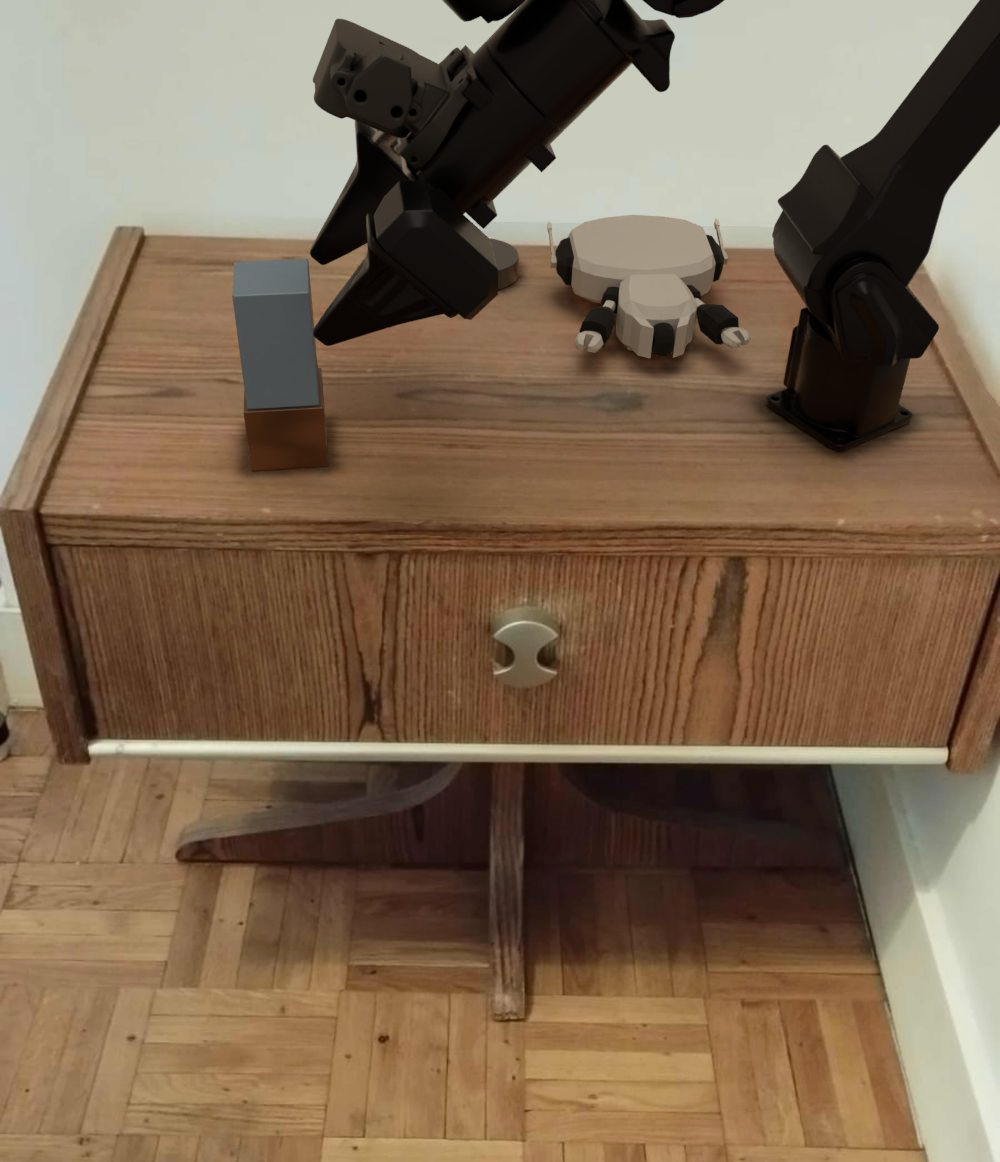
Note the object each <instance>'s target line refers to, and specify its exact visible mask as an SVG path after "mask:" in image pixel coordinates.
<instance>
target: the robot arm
mask: <svg viewBox="0 0 1000 1162" xmlns="http://www.w3.org/2000/svg"><path fill="white" fill-rule="evenodd" d="M441 1H442V2H443V3H444V4H445V5H446V6H447V7H448V8H449V9H450V11H452V13H454V14H455V15H456V16H457V18H458V19H460V20H461V21H462V22H472V21H474V20H476V19H478V18H480V17H481V19H483V20H484V22H485V23H486V24H491V23H492V22H499V21H501V20H504V19H506V20H505V21H504V22H503V23H502V24H501V25H500V26H499V27H498V28H497V29H496V30H495V31H494V33H492V34H491V36H489V37H488V39H487V40H486V41H484V42H483V44H482V45H481V46H480V47H479V48H478V49H477V50H476V51H475V52H473V51H472V50H471V49H470V48H469V47H468V46H467V45H466V44H465V45H464V46H463V47H462V48H461V49H460V48H459V47H455V48H454V49H452V50H451V51H450V52H449V53H448V54H447V56H445V58H443V59H442V60H441V61H440V62H439V63H437V62H435V61H433V60H431V59H429V58H428V57H425V56H424V55H422V54H420V53H418V52H417V51H415V50H413V49H412V48H409V47H408V46H405V45H404V44H401V43H399V42H397V41H394V40H393V39H390V38H388V37H386V36H384V35H382V34H379V33H378V32H375V31H373V30H371V29H369V28H366V27H364V26H361V25H359V24H357V23H355V22H353V21H350V20H348V19H345V18H336V19H335V20H334V23H333V25H332V28H331V30H330V33H329V35H328V38H327V41H326V43H325V46H324V48H323V51H322V54H321V57H320V59H319V61H318V63H317V66H316V69H315V71H314V74H313V77H312V83H313V84H314V94H313V101H314V103H315V104H316V105H317V107H319V108H320V110H322V111H325V112H326V113H327V114H329V115H331V116H334V117H336V118H339V119H345V118H349V119H351V120H353V121H354V133H355V147H356V149H355V150H356V162H355V165H354V167H353V169H352V171H351V173H350V175H349V177H348V179H347V181H346V183H345V185H344V187H343V188H342V190H341V192H340V194H339V196H338V198H337V199H336V201H335V203H334V205H333V207H332V209H331V211H330V212H329V214H328V216H327V218H326V220H325V221H324V223H323V225H322V227H321V229H320V231H319V233H318V234H317V236H316V238H315V239H314V241H313V243H312V245H311V247H310V248H309V256H310V257H311V258H312V259H313V260H314V261H316V262H317V263H318V264H319V265H321V266H325V265H328V264H330V263H332V262H334V261H336V260H338V259H341V258H342V257H344V256H346V255H348V254H351V253H352V252H354V251H355V250H358V249H359V248H361V247H363V246H365V245H367V251H366V255H365V256H364V258H363V260H362V261H361V262H360V263H359V265H358V267H357V268H356V269H355V271H353V273H352V274H351V276H350V277H349V278H348V280H347V281H346V282H345V284H344V285H343V286H342V288H341V289H340V291H339V292H338V294H336V296H335V298H334V299H333V300H332V302H331V303H330V304H329V306H328V307H327V308H326V309H325V311H324V313H323V314H322V316H321V317H320V318H319V320H318V321H317V322H316V324H315V325H314V329H313V335H314V337H315V340H317V341H318V342H320V343H321V344H322V345H324V346H327V347H330V346H335V345H337V344H340V343H341V344H342V343H344V342H346V341H350V340H353V339H357V338H359V337H363V336H366V335H369V334H373V333H376V332H378V331H379V332H380V331H383V330H386V329H390V328H392V327H396V326H399V325H403V324H407V323H411V322H412V323H413V322H415V321H419V320H420V321H421V320H424V319H428V318H429V319H430V318H433V317H437V316H441V315H444V316H446V317H447V318H450V319H453V318H455V317H457V316H458V315H459V316H461V318H463V319H464V320H469V321H472V320H473V319H474V318H475V317H476V316H477V315H478V314H479V313H480V312H481V311H482V310H483V309H484V308H485V307H487V306H488V304H490V303H491V302H492V301H493V300H494V299H495V298H496V297H497V296H498V295H499V290H498V266H497V263H496V259H495V256H494V252H493V249H492V245H491V242H490V239H491V238H490V237H488V236H487V235H486V233H484V232H483V231H482V230H481V229H479V228H478V226H479V227H481V228H482V229H483V230H484V229H485V228H486V227H487V226H489V225H490V224H491V223H492V221H493V220H494V219H495V218H497V216H498V213H497V210H496V207H495V202H494V201H495V199H496V198H497V197H498V196H499V195H500V194H501V193H503V191H504V190H505V189H506V188H507V187H508V186H509V185H510V184H511V183H512V182H513V181H514V180H515V179H516V178H518V177H519V175H521V173H522V172H524V171H525V170H526V169H527V168H528V167H529V166H530V165H531V164H532V165H533V166H534V167H536V168H537V170H538V171H540V173H543V172H544V171H545V170H546V169H547V168H548V167H549V166H550V165H551V164H552V163H553V162H554V161H555V160H556V159H557V156H556V154H555V151H554V149H553V147H552V143H553V142H554V141H555V140H556V139H557V138H558V137H559V136H560V135H561V134H562V133H563V132H565V130H567V128H569V126H570V125H572V123H573V122H574V121H576V119H578V118H579V117H580V116H581V115H582V114H583V113H584V112H585V111H586V110H587V109H588V108H589V107H590V106H591V105H592V104H593V103H594V102H595V101H596V100H597V99H598V98H599V97H600V96H601V95H603V93H604V92H605V91H606V90H607V89H608V88H610V86H611V85H612V84H613V83H614V82H615V81H616V80H617V79H618V78H619V77H621V76H622V74H623V73H625V71H627V70H628V68H630V67H631V66H632V65H633V66H634V67H635V68H636V70H637V71H638V72H639V73H640V75H642V76H643V77H644V78H645V80H646V81H647V82H648V83H649V84H650V85H651V86H652V88H653V89H655V91H657V92H658V93H664V92H666V91H668V89H669V88H670V85H671V79H670V74H671V73H670V72H671V71H670V69H671V65H670V63H671V62H670V61H671V52H672V47H673V45H674V42H675V40H676V35H675V32H674V31H673V30H672V28H671V27H670V26H669V24H668V23H667V21H666V20H665V19H662V18H659V19H643V18H642V17H641V16H640V15H639V14H638V12H637V11H635V9H634V8H633V7H632V5H631V4H630V3H629V2H628V1H627V0H441ZM724 1H725V0H642V2H643V3H644V4H646V5H647V6H648V7H650V8H651V9H653V11H656V12H660V13H663V14H665V15H669V16H672V17H675V18H677V19H685V18H693V17H696V16H699V15H701V14H705V13H707V12H710V11H711V10H713V9H714V8H716V7H717V6H719V5H721V4H722V3H723V2H724ZM507 17H508V18H507ZM999 127H1000V0H978V2H977V3H976V4H975V5H974V7H973V8H972V9H971V11H970V12H969V13H968V15H967V16H966V18H965V19H964V20H963V21H962V22H961V23H960V25H959V27H958V28H957V29H956V30H955V32H954V33H953V34H952V36H951V37H950V38H949V40H948V41H947V43H946V44H945V45H944V46H943V47H942V49H941V50H940V52H939V53H938V54H937V55H936V57H935V58H934V60H933V61H932V62H931V63H930V65H929V66H928V68H927V69H926V70H925V71H924V73H923V74H922V75H921V76H920V78H919V79H918V81H917V82H916V83H915V85H914V86H913V87H912V88H911V90H910V91H909V93H908V94H907V96H905V97H904V99H903V100H902V102H901V103H900V104H899V105H898V107H897V108H896V110H895V111H894V112H893V113H892V115H891V116H890V117H889V119H888V121H887V122H886V123H885V124H884V125H883V127H882V128H881V130H879V132H878V133H877V134H876V135H875V136H874V137H873V138H871V139H870V140H869V141H866V142H865V143H863V144H862V145H860V146H858V147H856V148H855V149H853V150H851V151H850V152H849V151H848V153H846V154H844V155H843V156H840V155H839V154H838V153H837V152H836V151H835V150H834V149H833V148H832V147H831V146H830V145H828V144H823V145H822V146H821V147H820V148H819V149H818V150H817V151H816V152H815V153H814V154H813V156H812V158H811V160H810V161H809V164H808V166H807V168H806V169H805V171H804V173H803V175H802V176H801V178H800V179H799V181H798V182H796V184H795V185H793V187H792V188H791V189H790V190H789V191H788V192H786V193H785V194H783V195H782V196H780V197H779V198H778V199H777V204H778V206H779V207H780V208H781V210H782V211H781V213H780V214H779V216H778V219H776V222H775V223H774V227H773V230H772V234H771V237H772V239H773V240H772V243H773V244H772V245H773V252H774V257H775V259H776V260H777V262H778V264H779V266H780V267H781V270H782V271H783V273H784V274H785V276H786V278H787V279H788V280H789V281H790V283H791V285H792V286H793V288H794V290H795V291H796V293H797V294H798V295H799V298H800V299H801V300H802V302H803V304H804V305H805V307H803V308H801V309H800V312H799V317H798V322H797V325H796V326H794V327H793V328H792V330H791V331H792V332H791V336H790V342H789V349H788V354H787V360H786V365H785V369H784V375H783V376H784V377H783V383H782V384H783V386H784V387H785V388H784V389H782V390H779V391H777V392H774V393H772V394H769V395H768V396H767V397H766V398H767V399H766V402H765V404H766V406H767V407H769V408H770V409H772V410H773V411H774V412H776V413H778V414H779V415H780V416H782V417H783V418H785V419H787V420H788V421H790V422H791V423H792V424H794V425H796V426H797V427H799V428H800V429H802V430H803V431H805V432H806V433H807V434H809V435H811V436H812V437H814V438H815V439H817V440H818V441H820V442H821V443H823V444H824V445H826V446H827V447H829V448H830V449H832V450H834V451H837V452H843V451H847V450H849V449H851V448H853V447H856V446H858V445H861V444H863V443H865V442H867V441H870V440H873V439H874V438H877V437H879V436H881V435H883V434H886V433H889V432H891V431H893V430H895V429H898V428H900V427H902V426H904V425H907V424H909V423H910V422H911V421H912V418H913V412H912V411H911V410H909V409H908V408H906V407H904V406H903V405H901V404H900V402H901V398H902V393H903V391H904V386H905V382H906V378H907V373H908V371H909V367H910V362H911V360H912V359H913V360H914V359H921V357H922V356H924V354H925V352H926V350H927V349H928V348H929V346H930V344H931V342H932V341H933V339H934V338H935V336H936V335H937V333H938V332H939V329H940V325H939V324H938V322H937V321H936V320H935V319H934V317H933V316H932V315H931V313H930V312H929V311H928V310H927V308H926V307H925V305H923V303H922V302H921V301H920V299H919V298H918V297H917V296H916V295H915V293H914V292H913V291H912V290H911V289H910V287H909V285H910V284H911V282H912V281H913V279H914V277H915V276H916V274H917V272H918V271H919V269H920V267H921V266H922V264H923V262H924V261H925V259H926V258H927V256H928V254H929V253H930V249H931V245H932V242H933V239H934V236H935V231H936V228H937V226H938V222H939V218H940V214H941V211H942V207H943V204H944V200H945V199H946V196H947V194H948V192H949V190H951V187H952V186H953V185H954V183H955V182H956V180H958V178H959V177H960V176H961V175H962V173H963V172H964V171H965V170H966V168H967V167H968V166H969V165H970V164H971V162H972V161H973V160H974V159H975V157H976V156H977V155H978V153H979V152H980V151H981V150H982V149H983V147H985V145H986V144H987V143H988V141H989V140H990V139H991V138H992V137H993V135H994V134H995V133H996V131H997V130H998V129H999ZM465 214H466V215H467V216H468V217H470V218H471V219H472V221H474V222H475V223H476V224H477V225H478V226H476V225H475V224H474V223H473V222H472V221H471V220H470V219H469V218H468V217H467V216H466V215H465ZM489 238H490V239H489Z"/></svg>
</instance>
